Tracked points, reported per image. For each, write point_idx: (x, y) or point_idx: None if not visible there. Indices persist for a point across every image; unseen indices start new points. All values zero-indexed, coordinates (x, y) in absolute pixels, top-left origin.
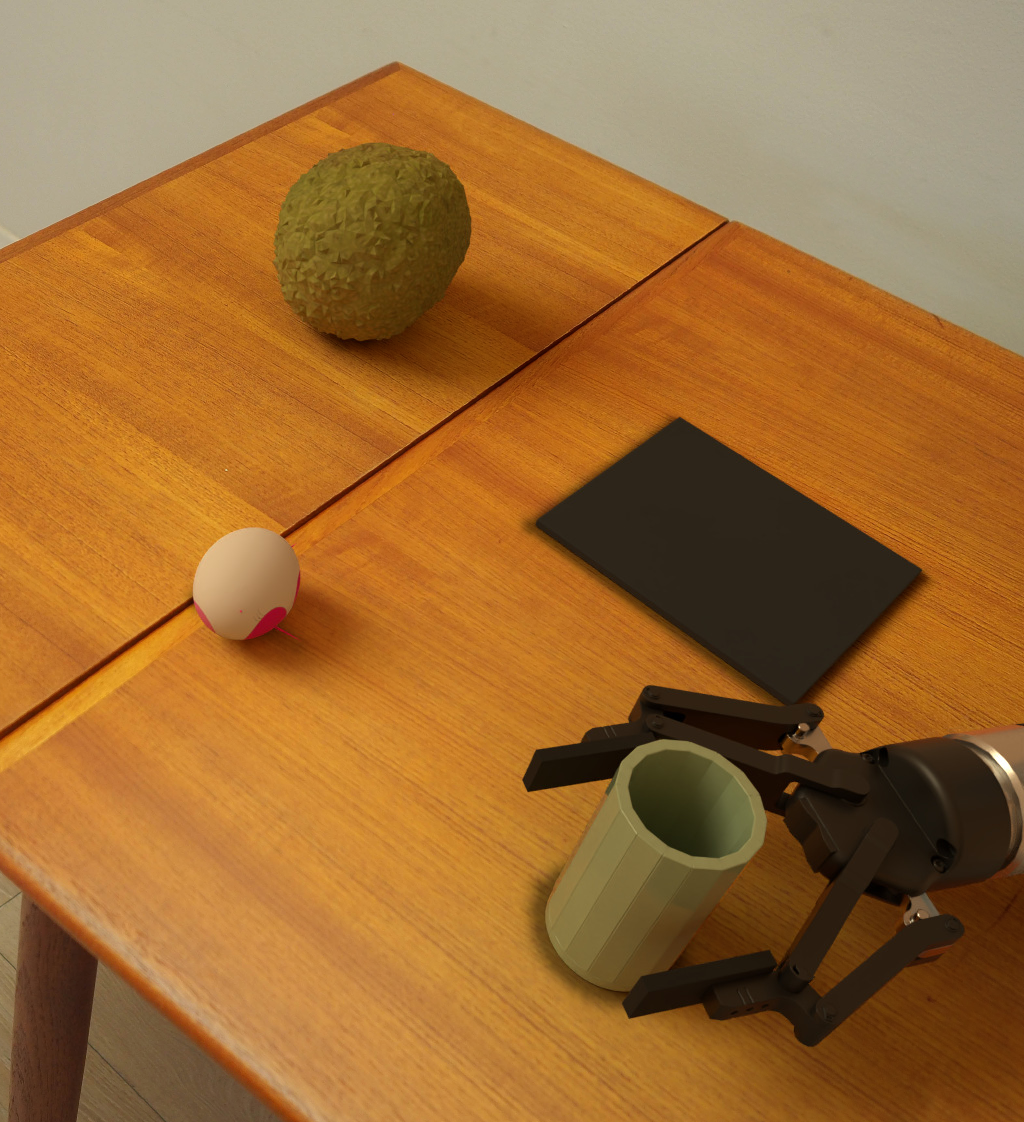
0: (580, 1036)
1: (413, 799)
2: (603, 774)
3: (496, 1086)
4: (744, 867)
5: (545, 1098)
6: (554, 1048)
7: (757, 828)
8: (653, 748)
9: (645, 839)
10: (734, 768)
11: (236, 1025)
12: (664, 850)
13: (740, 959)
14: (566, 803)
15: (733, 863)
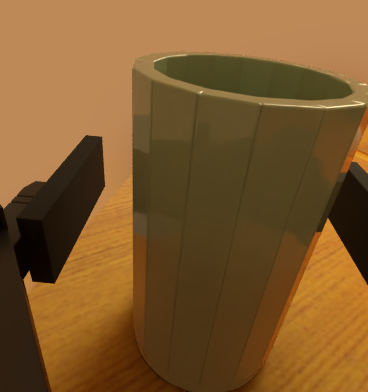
0: (120, 258)
1: (330, 240)
2: (361, 255)
3: (116, 209)
4: (133, 90)
5: (95, 225)
6: (121, 242)
7: (184, 83)
8: (344, 78)
9: (201, 52)
10: (329, 105)
11: None
12: (183, 52)
13: (57, 191)
14: (356, 352)
15: (138, 63)
